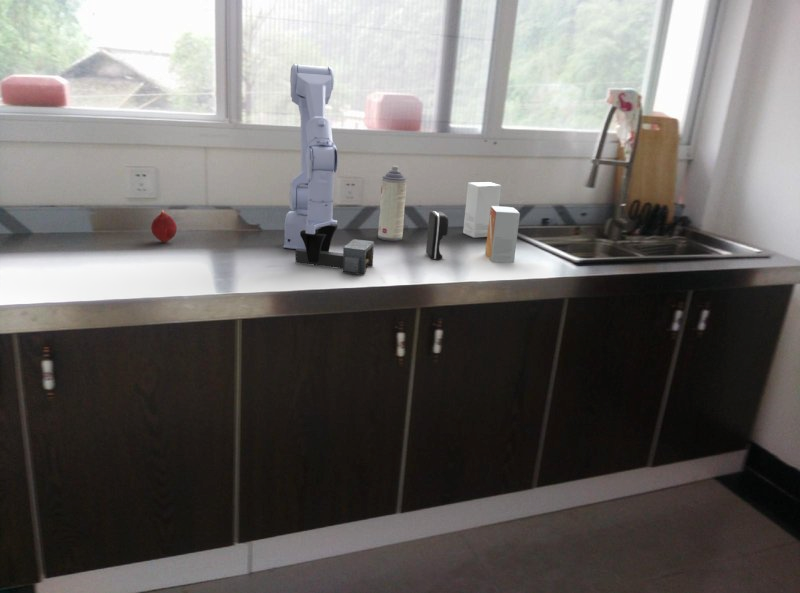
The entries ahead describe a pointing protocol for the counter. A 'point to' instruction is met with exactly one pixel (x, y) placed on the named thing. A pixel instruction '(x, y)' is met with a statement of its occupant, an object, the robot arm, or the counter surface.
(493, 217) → the small box
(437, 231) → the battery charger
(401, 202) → the aerosol can
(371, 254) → the housing
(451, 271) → the counter surface
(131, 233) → the counter surface
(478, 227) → the skincare box
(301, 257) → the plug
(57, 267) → the counter surface
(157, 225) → the onion
